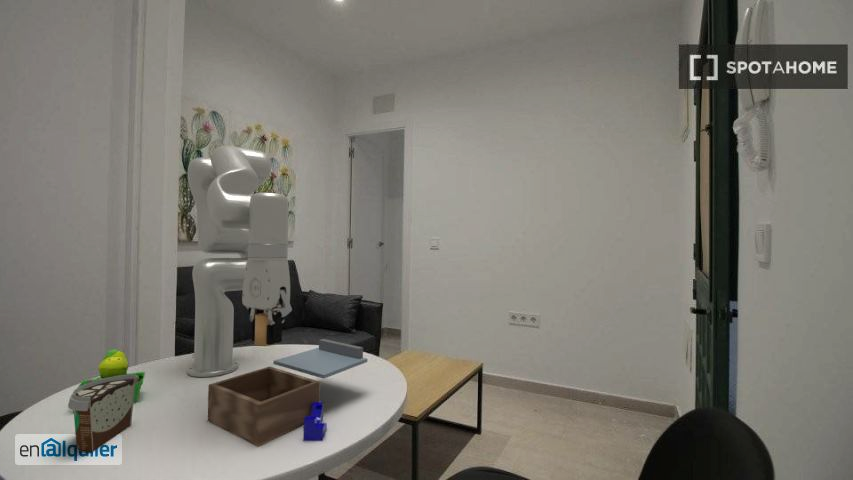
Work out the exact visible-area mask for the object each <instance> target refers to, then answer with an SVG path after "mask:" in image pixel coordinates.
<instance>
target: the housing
mask: <svg viewBox="0 0 853 480" xmlns="http://www.w3.org/2000/svg"><path fill="white" fill-rule="evenodd" d="M207 391H208V392H207V393H208V394H207V395H208V396H207V422H208V421H209V422H208V423H210V424H212V425H214V426H216V427H217V428H220V429H221V430H224V431H226V432H228V433H230V434H232V435H234V436H236V437H238V438H240V439H241V440H244V441H246V442H248V443H249V444H252V445H253V446H255V447H256V448H257V447H258V448H259V447H261V446H264V445H266V444H268V443H270V442H272V441H275V440H276V439H278V438H280V437H282V436H284V435H286V434H289V433H290V432H292V431H293V432H294V431H295V430H296V429H299V428H300V427H302V426H303V427H304V419H305V417H311V410H312V404H313V402H321V401H320V400H321V399H320V396H321V394H320V393H321V381H319V380H316V379H312V378H309V377H306V376H302V375H299V374H296V373H293V372H289V371H286V370H283V369H280V368H276V367H273V366H267V367H262V368H260V369H257V370H253V371H250V372H247V373H243V374H240V375H236V376H232V377H230V378H226V379H224V380H220V381H219V380H218V381H216V382H213V383H209V384H208V388H207Z"/></svg>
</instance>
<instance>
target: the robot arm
mask: <svg viewBox="0 0 853 480" xmlns="http://www.w3.org/2000/svg"><path fill="white" fill-rule="evenodd" d="M271 173H272V163H271V160H270V158H269V156H268V155H267V154H266V153H265V152H264V151H261V150H256V149H251V148H246V147H241V146H235V145H221V146H218V147H216V148H215V149H214V150H213V151H212V153H211V155H210V157H204V156H203V157H195V158H193V159H192V160H191V161H190V162H189V164H188V165H187V182H188V187H189V190H190V192H191V193H190V194H191V195H192V198H193V201H194V203H195V208H196V228H197V229H196V231H197V232H196V235H197V236H196V237H197V244H198V248H199V249H200V251H201V252H203V253H205V254H211V255H212V254H213V255H214V254H215V255H236V254H237V255H239V256H240V257H210V258H203V259H201V260H199V261H197V262H195V264H194V265H193V268H192V275H191V276H192V282H193V288H194V300H195V301H194V303H195V304H194V305H195V308H194V311H195V314H194V320H195V321H194V349H193V351H194V353H193V354H192V355H191V358H192V359H193V364H192V365H190V366H189V367H187V370H186V373H187V375H188V376H191V377H195V378H196V377H197V378H206V377H207V378H208V377H209V378H210V377H215V376H217V377H218V376H222V375H225V374H228V373H231V372H234V371H235V370H237V369H238V368H239V361H237V360H235V359H233V354H234V352H233V350H234V322H235V321H234V320H235V319H234V316H235V315H234V314H235V310H234V304H233V303H232V301H231V299H229V297H228V296H227V295H226V294H225V292H232V291H235V292H236V291H242V292H241V293H242V294H241V297H242V298H241V299H242V300H241V301H242V302H241V303H242V305H243V306H244V307H245V308H246V310H247V312H248V313H249V321H250V322H251V327H250V329H251V331H250V334H251V335H250V340H251V341H252V342H255V315H256V314H259V313H267V312H268V318H269V325H267V337H266V343H267V344H268V345H271V344H275V343H277V344H278V343H281V342H282V341H283V340H282V339H283V323H285V319H286V318H287V316H288V315H289V314H290V313H291V312H292V311H293V308H292V306H291V303H290V302H291V276H290V275H291V274H290V266H289V262H288V251H289V248H288V246H289V243H288V242H289V237H288V236H289V209H290V208H289V199H288V197H287V196H286V195H284V194H282V193H281V194H280V193H274V192H256V190H257V188H259V187H260V186H261V185H263V184H264V183H266V182H267V180H269V178H270V176H271ZM255 192H256V193H255ZM274 313H276V315H275V316H274ZM275 345H276V344H275ZM271 346H272V345H271Z"/></svg>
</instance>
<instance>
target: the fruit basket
mask: <svg viewBox="0 0 853 480" xmlns="http://www.w3.org/2000/svg"><path fill="white" fill-rule="evenodd" d="M102 359H103V360H102V361H101V362H100V363H99V365H98V366H97V367H98V368H97V369H98V372H99V376H100V377H96V378H92V379H85V380H83V381H81V382H80V384H79V385H78V386H77V388H78V387H80V386H82V385H84V384H87V383H90V382H93V381H96V380H100V379H104V378H109V377H114V376H121V375H133V374H136V377H137V384H135V391H134V401H133V404H135V403H136V402H138V398H139V395H140V391H141V388H142V385H143V383H144V380H145V376H146V372H144V371H140V372H132V373H128V372H127V371H128V368H129V362H128V360H127V358H126V354H125V353H124V352H123V351H120V349H111V350H109V351H107V352H106V354H105V356H104V357H103V358H102Z"/></svg>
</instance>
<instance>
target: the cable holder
mask: <svg viewBox="0 0 853 480" xmlns="http://www.w3.org/2000/svg"><path fill="white" fill-rule="evenodd" d="M327 427H328V424H327V422H324V401H320V402H313V404H312V410H311V417H305V419H304V425H303V433H302V434H303V439H302V441H303V442H318V441H319V442H320V441H321V442H323V440H324V437H325V435H326V432H327V429H328V428H327Z"/></svg>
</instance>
